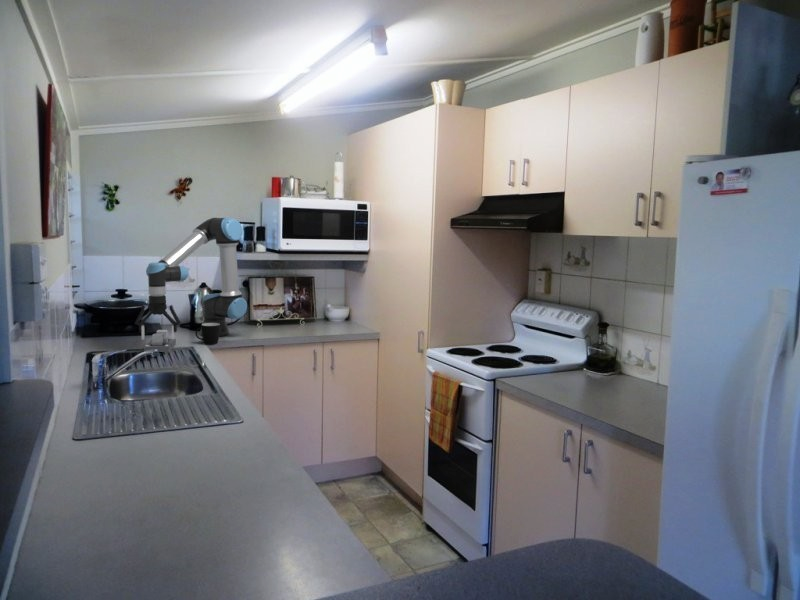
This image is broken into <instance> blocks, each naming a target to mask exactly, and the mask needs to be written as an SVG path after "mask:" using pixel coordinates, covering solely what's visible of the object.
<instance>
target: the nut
mask: <svg viewBox="0 0 800 600" xmlns="http://www.w3.org/2000/svg"><path fill="white" fill-rule="evenodd" d="M151 340H152V346H164V343H165V340H164V334H156V333H153V334H152V335H151Z"/></svg>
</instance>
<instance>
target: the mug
mask: <svg viewBox="0 0 800 600" xmlns="http://www.w3.org/2000/svg"><path fill="white" fill-rule="evenodd" d="M199 330H200V331H201V330H202V335H201V336H202V337H199V336H198V332H199ZM219 332H220V324H218V323H204V324H203V323H202V324H201V326H200V327H198V328H197V329H196V331H195V337H196V338H197V339H199V340H201V341H202V342H203V344H204V345H207V346H208V345H209V346H211V345H213V346H214V345H217V344H218V343H219V338H220V336H219Z"/></svg>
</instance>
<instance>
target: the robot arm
mask: <svg viewBox="0 0 800 600" xmlns="http://www.w3.org/2000/svg"><path fill="white" fill-rule="evenodd" d="M243 232H244V231H243V225H242V224H241V222H239V221H238V219H236V218H232V217H211V218H209V219H206V220H205V221H203V222H202V223H200V224H199V225H198V226H196V227H195V228H194V229H192V233H191V234H190V235H189V236H187V237H186V238H185V239H183V241H181V242H180V243H179V244H178V245H177V246H175V247H174V248H173V249H172V250H171V251H170V252H169V253H167V254H166V255H165V256H164V257H163V258H161V259H160V260H159V261H158V262H149V263H148V266H147V267H146V270H145V272H146V276H147V278H148V279H147V280H148V295H149V296H148V305H145V304H143V305H141V310H140V312H139V314H138V316H137V318H136V320H135V322H134V325H137V326H138V332H139V333H141V340H145V334H146V333H145V325H144V324H145V322H146V321H147V320H148V319H149V318H150V317H151V316H152V315H153V316H154V315H156V316H157V315H159V316H161V315H163V317H165V318H166V319H167V321H169V322H170V323H171V324H172V325H171V339H176V337H175V335H176V334H175V333H177V331H178V329H177V328H178V325H180V324H181V320H180V318H179V316H178V315H177V313H176V310H175V309H174V305H173V304H170V305H167V298H166V294H167V293H166V292H167V291H166V290H167V289H166V288H167V287H166V283H170V282H171V283H172V282H182V281H184V282H185V281H186V280H187V278H188V275H189V272H188V269H187V267H186V266H184V265H180V264H181V263H183V262H184V261H185V260H186V259H187V258H189V256H191V255H192V254H193V253H194V252H195V251H197V250H198V249H199V248H200V247H201V246H202V245H206V244H208V243H209V242H211V241H214V240H215V244H216V245H217V247H218V248H219V249H218V250H219V259H220V260H219V261H220V262H219V264H220V275H221V277H220V279H221V290H222V291H221V292H219V293H218V292H217V293H210V294H209V293H206V294H204V295H203V298H202V299H203V300H202V301H203V302H202V303H203V304H202V306H203V322H202V324H204V323H218V324H220V332H219V337H225V336H228V335H230V330H229V327H228V324H227V321H226V319H232V320H239V319H241V318H243V317H244V315H245V314H246V313H247V311H248V303H247V301H246V299H244V298H243V293H242V292H241V291H240V288H239V287H240V286H239V273H238V270H239V269H238V257H237V256H238V255H237V246H238V245H239V240H240V239H241V238H242V236H243ZM147 309H148V311H149V312H148V313H147V315H145V317H143V316H144V313H145V311H146V310H147ZM167 309H168V310H169V311H170V314H171V315H172V316H173V318H172V317H171V315H170V314H168V311H167ZM142 317H143V319H142ZM141 319H142V320H141ZM140 321H141V322H140ZM200 335H201V336H202V330H201V329H200Z"/></svg>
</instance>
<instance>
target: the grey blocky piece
mask: <svg viewBox="0 0 800 600" xmlns="http://www.w3.org/2000/svg"><path fill="white" fill-rule="evenodd" d="M155 334H164V340H165V343H164V346H152V339H151V340H150V341H148V343H146V344H145V345H144V347H143V351H144V350H149V349H158V350H160V352H166V353H165V354H167V353H168V354H170V352H171V351H172V350H173V348H174V347H176V345H177V344H176V343H177V342H176V341H177V340H176V338H174V339H172V338H169V331H168V329H157V330H156V333H155ZM171 349H172V350H171ZM170 350H171V351H170Z"/></svg>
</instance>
